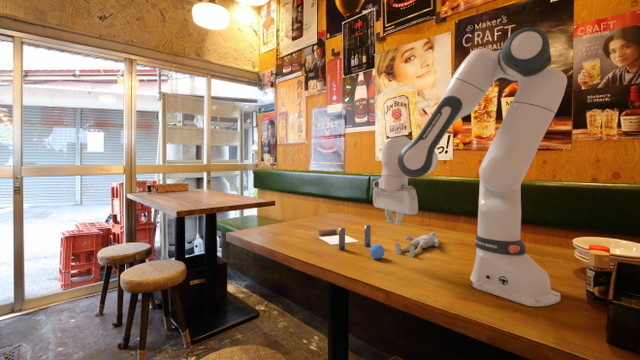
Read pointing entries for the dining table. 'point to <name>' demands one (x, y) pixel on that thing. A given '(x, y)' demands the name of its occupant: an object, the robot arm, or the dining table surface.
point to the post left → (341, 238)
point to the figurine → (418, 244)
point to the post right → (367, 236)
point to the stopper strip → (327, 232)
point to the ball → (377, 251)
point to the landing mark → (337, 239)
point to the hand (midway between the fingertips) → (393, 223)
